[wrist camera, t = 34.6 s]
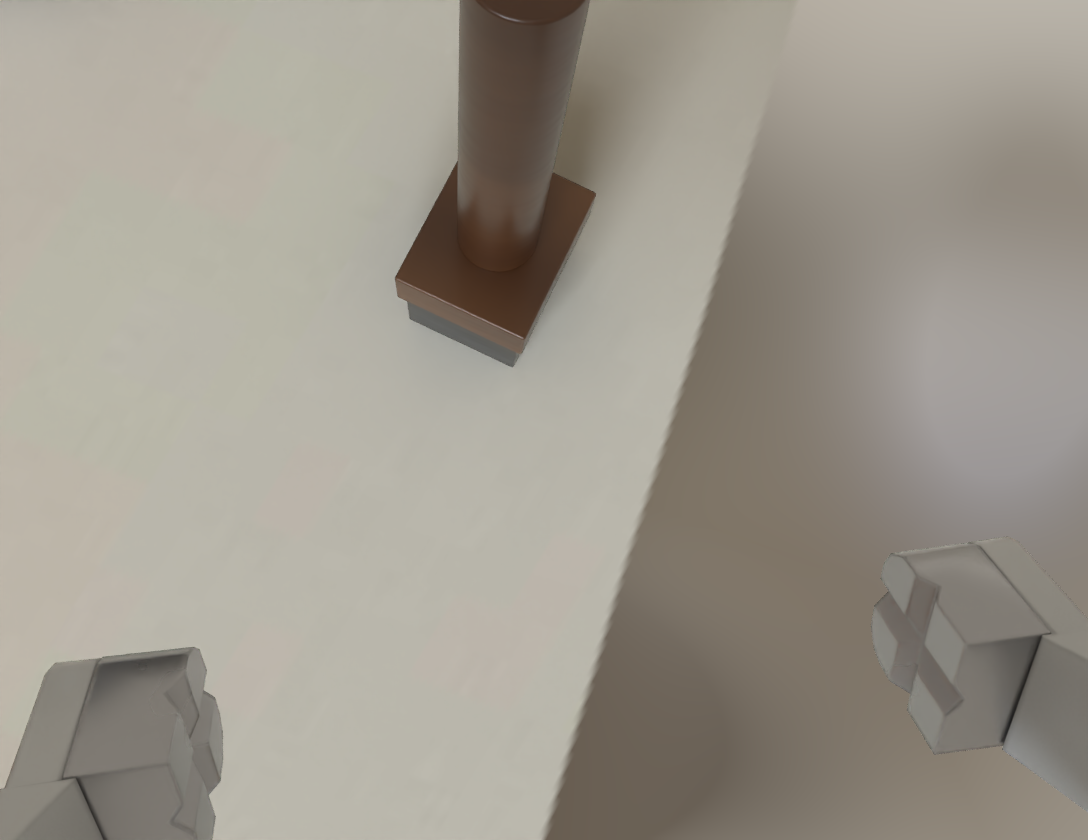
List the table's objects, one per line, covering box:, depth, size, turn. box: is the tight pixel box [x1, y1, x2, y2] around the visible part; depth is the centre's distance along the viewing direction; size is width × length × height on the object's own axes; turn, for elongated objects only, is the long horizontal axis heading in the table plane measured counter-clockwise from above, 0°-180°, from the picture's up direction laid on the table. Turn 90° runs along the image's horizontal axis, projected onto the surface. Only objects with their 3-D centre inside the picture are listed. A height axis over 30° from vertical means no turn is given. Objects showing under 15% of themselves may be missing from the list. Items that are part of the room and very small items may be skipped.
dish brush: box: [395, 0, 596, 367], centre depth 25 cm, size 5×4×16 cm
